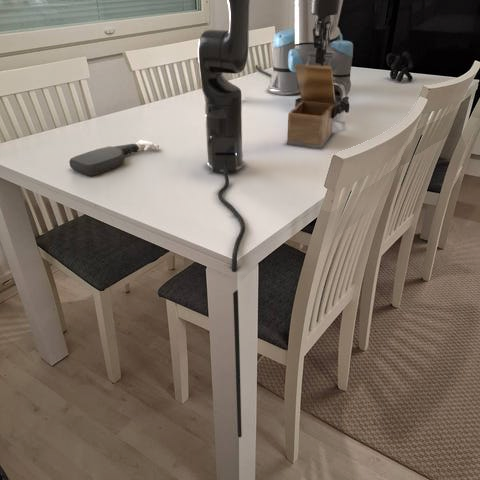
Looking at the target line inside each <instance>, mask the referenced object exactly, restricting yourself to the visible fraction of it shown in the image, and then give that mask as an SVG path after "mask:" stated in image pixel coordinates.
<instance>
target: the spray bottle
mask: <svg viewBox="0 0 480 480" xmlns="http://www.w3.org/2000/svg"><path fill="white" fill-rule="evenodd" d="M159 148H160V145H159V144H158V143H155V142H151V141H148V140H144V139H139V140H138V141H137V142H135V143H129V144H128V143H126V144H122V145H113V146H105V147H100V148H97V149H94V150H90V151H87V152H83V153H81V154H78V155H74V156H73V157H70V159H69V161H68V162H69V167H70V168H71V169H72V170H74V171H75V172H78V173H81V174H83V175H85V176H89V177H90V176H91V177H92V176H95V175H99V174H102V173H105V172H107V171H110V170H113V169H116V168H118V167H120V166H122V165H123V164H124V163H125V158H126V156H127V155H131V154H133V153H138V151H140V150H143V151H144V152H146V151H147V150H149V149H159Z"/></svg>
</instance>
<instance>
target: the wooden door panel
mask: <svg viewBox="0 0 480 480" xmlns="http://www.w3.org/2000/svg"><path fill="white" fill-rule="evenodd" d="M311 58H316V52H309V53H308V60H307V63H306V65H301V64H296V66H295V69H296V73H297V78H298V83H299V87H300V92H301V93H300V96H301V97H302V100H304V101H315V102H326V103H335V92H334V83H333V73H332V66H330V62H331V59H333V53H327V52H324V59H328V62H327V66H317V65H309V63H310V60H311Z"/></svg>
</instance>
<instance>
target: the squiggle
mask: <svg viewBox="0 0 480 480" xmlns="http://www.w3.org/2000/svg"><path fill="white" fill-rule="evenodd" d="M401 57H402V59H401ZM391 59H392V60H391ZM393 60H394V61H393ZM385 61H386V64H387V67H390V68H391V70H390V72H389V78H390V79H391V80H395V79H396V81H397V82H399V83H400V82H402V81H403V79H404V76H406V78H407V80H408V81H412V80H413V79H414V77H413V75H412V74H411V73H410V72H409V71H410V70H412V69H413V68H414V64H413V61H412V57H411V54H410V53H409V52H408V51H403V53H402V54H401V55H396V54H394V53H392V52H390V53H387V55H386V57H385ZM406 62H407V65H408V66H407V67H405V66H404V65H405V64H406ZM400 70H401V71H400Z"/></svg>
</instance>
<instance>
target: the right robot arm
mask: <svg viewBox="0 0 480 480" xmlns="http://www.w3.org/2000/svg"><path fill="white" fill-rule="evenodd" d="M343 2H344V0H339V8H338V14H336V15H330V16H331V17H330V18H331V21H330V22H332V25H333V27H332V31H331V36H330V41H329V45H328V47H327V48H326V52H327V53H333V59H331V62H330V66H332V73H333V83H334V92H335V103H330V104H335V107H334V108H333V109H332V116H331V118H333V120H334V119H335V118H336V117H337V115H340V114H342V113H343V112H344V113H349V112H350V102H349V100H350V98H349V96H348V94H349V93H350V91H351V88H352V82H351V73H352V72H351V71H352V63H353V57H354V56H353V55H354V54H353V53H354V44H353V42H352V41H350V40H344V39H343V34H342V33H341V30H340V27H339V26H338V25H339V21H340V16H341V12H342V7H343ZM293 5H294V7H293V9H294V10H293V11H294V13H293V14H294V26H293V27H294V28H289V29H285V30H280V31H278V32H276V33H275V34H274V36H273V43H272V47H273V51H272V53H273V55H272V56H273V57H272V58H273V59H272V73H268V72H267V71H265V70H262V69H260V68H258V64H256V65H255V69H256V70H257V71H258V72H260V73H261V74H264V75H266V76H268V77H270V80H269V82H268V85H267V86H268V87H267V88H268V89H267V91H268V92H269V93H270V94H273V95H280V96H295V95H301V92H300V87H299V83H298V78H297V73H296V69H295V66H296V64H301V65H306V63H307V60H308V53H309V52H316V49H315V48H314V41H313V28H315V22H316V21H317V15H312V14H311V0H293ZM318 43H319V42H318ZM315 60H316V58H311V60H310V63H309V65H317V66H327V62H328V59H325V62H323V63H322V64H318V63H316V62H315ZM302 101H304V100H302V97H298V98H296V99H295V100H294V108H295V107H296V106H297V105H299V104H300V103H301V102H302ZM308 102H315V101H308ZM319 103H326V102H319Z"/></svg>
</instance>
